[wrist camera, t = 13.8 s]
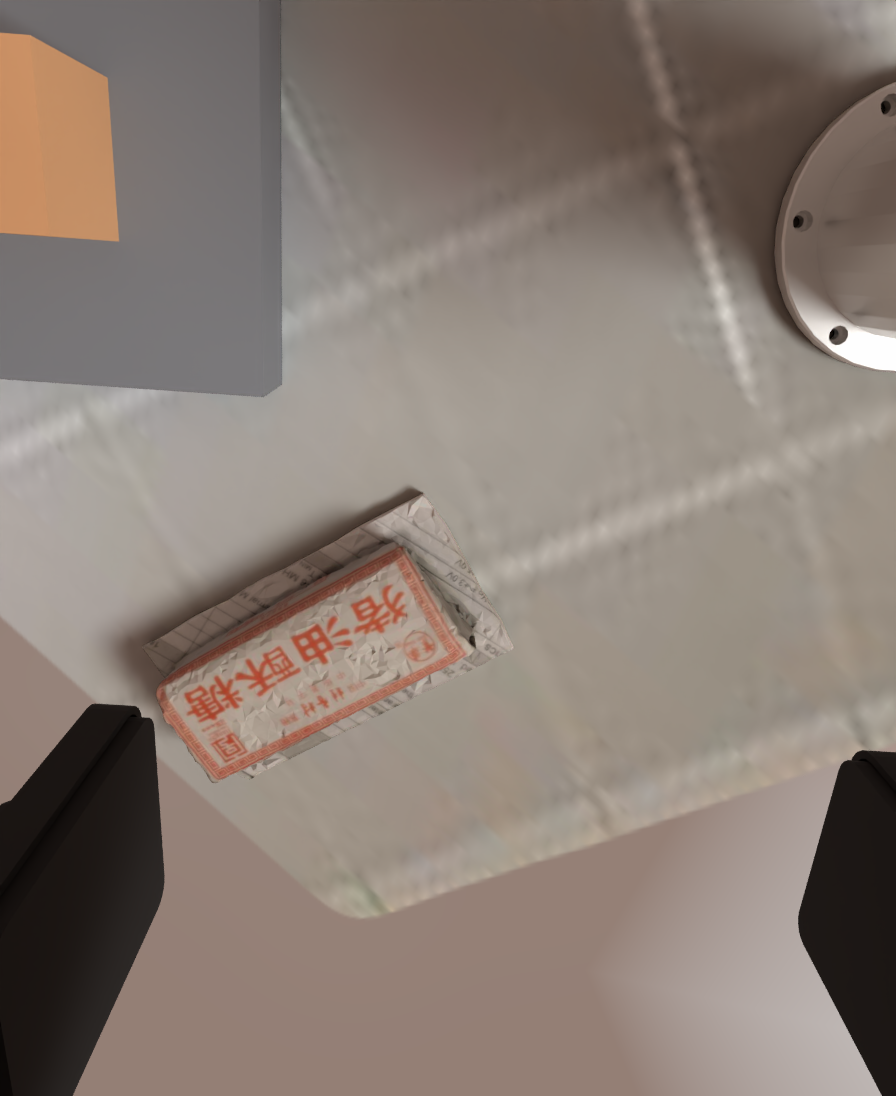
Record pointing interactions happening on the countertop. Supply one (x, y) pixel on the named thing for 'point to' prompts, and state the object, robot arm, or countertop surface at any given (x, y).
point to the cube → (54, 144)
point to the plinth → (162, 206)
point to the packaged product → (326, 644)
